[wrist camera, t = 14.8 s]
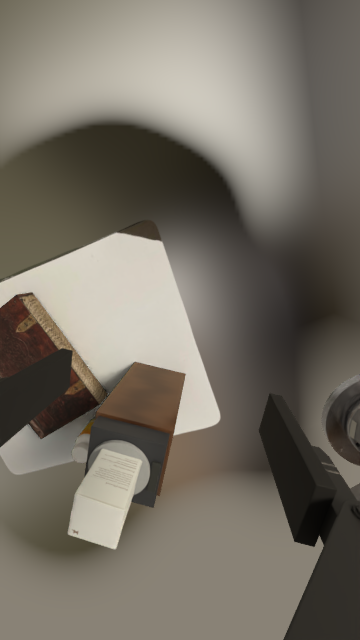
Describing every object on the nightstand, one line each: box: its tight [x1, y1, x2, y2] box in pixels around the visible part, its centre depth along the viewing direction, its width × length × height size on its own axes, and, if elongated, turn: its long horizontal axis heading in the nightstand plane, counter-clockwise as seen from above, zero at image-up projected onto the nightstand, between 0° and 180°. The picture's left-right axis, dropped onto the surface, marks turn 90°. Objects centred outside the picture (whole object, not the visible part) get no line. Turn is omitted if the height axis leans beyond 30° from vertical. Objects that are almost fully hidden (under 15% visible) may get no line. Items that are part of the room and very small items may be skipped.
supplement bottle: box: [71, 418, 95, 463], centre depth 56 cm, size 5×5×10 cm
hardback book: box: [0, 293, 107, 439], centre depth 56 cm, size 29×19×5 cm, turn 34°
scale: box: [84, 416, 170, 507], centre depth 36 cm, size 11×11×3 cm
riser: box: [95, 362, 186, 496], centre depth 47 cm, size 12×12×20 cm
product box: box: [68, 449, 142, 549], centre depth 31 cm, size 6×6×7 cm
